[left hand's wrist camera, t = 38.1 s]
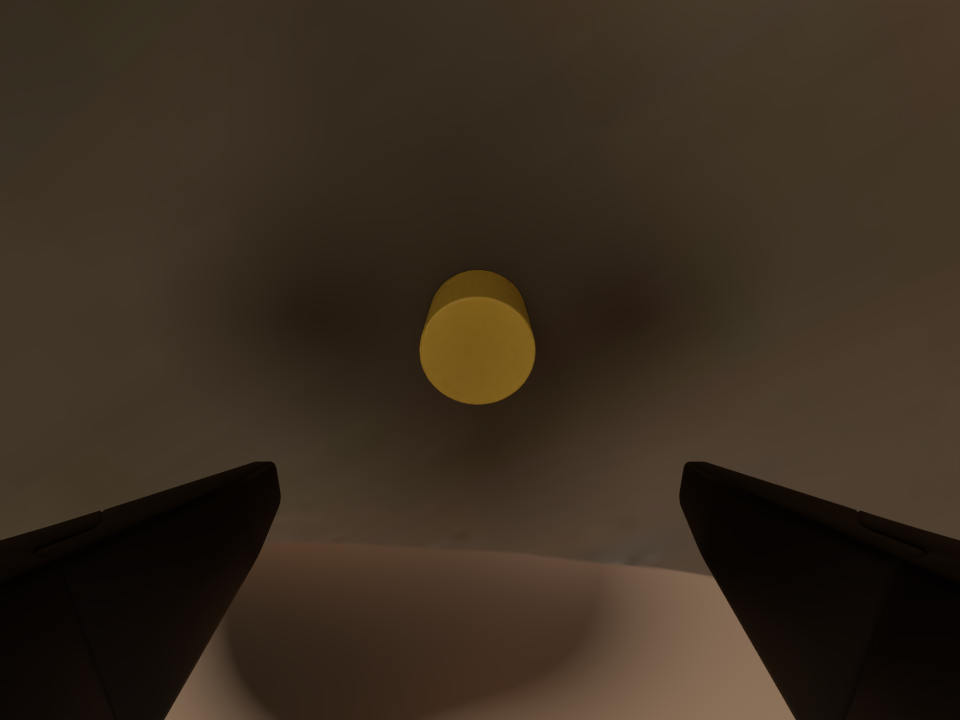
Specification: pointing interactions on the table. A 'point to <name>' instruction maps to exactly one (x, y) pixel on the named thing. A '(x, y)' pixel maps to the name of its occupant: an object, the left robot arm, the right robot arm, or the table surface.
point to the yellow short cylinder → (477, 339)
